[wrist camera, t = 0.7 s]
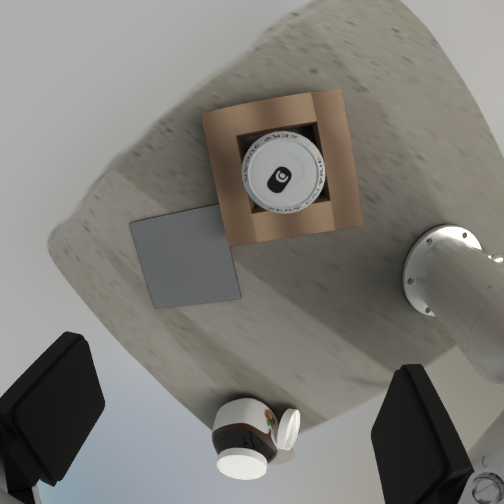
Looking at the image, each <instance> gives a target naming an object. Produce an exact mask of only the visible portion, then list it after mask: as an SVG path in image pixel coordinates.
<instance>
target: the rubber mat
mask: <svg viewBox="0 0 504 504" xmlns="http://www.w3.org/2000/svg"><path fill="white" fill-rule="evenodd" d="M130 226H131V230H132V234H133V237H134V241H135V245H136V248H137V252H138V255H139V259H140V262H141V265H142V269H143V272H144V275H145V278H146V282H147V285H148V288H149V291H150V294H151V297H152V300H153V303H154V306H155V309H158V308H168V307H177V306H186V305H195V304H203V303H212V302H220V301H228V300H236V299H241V293H240V288H239V284H238V280H237V275H236V271H235V266H234V262H233V257H232V253H231V248H230V247H229V246H228V241H227V237H226V232H225V228H224V223H223V219H222V214H221V210H220V205H219V204H216V205H211V206H206V207H201V208H196V209H191V210H187V211H182V212H177V213H172V214H168V215H163V216H158V217H154V218H149V219H145V220H141V221H136V222H132V223H130Z"/></svg>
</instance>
